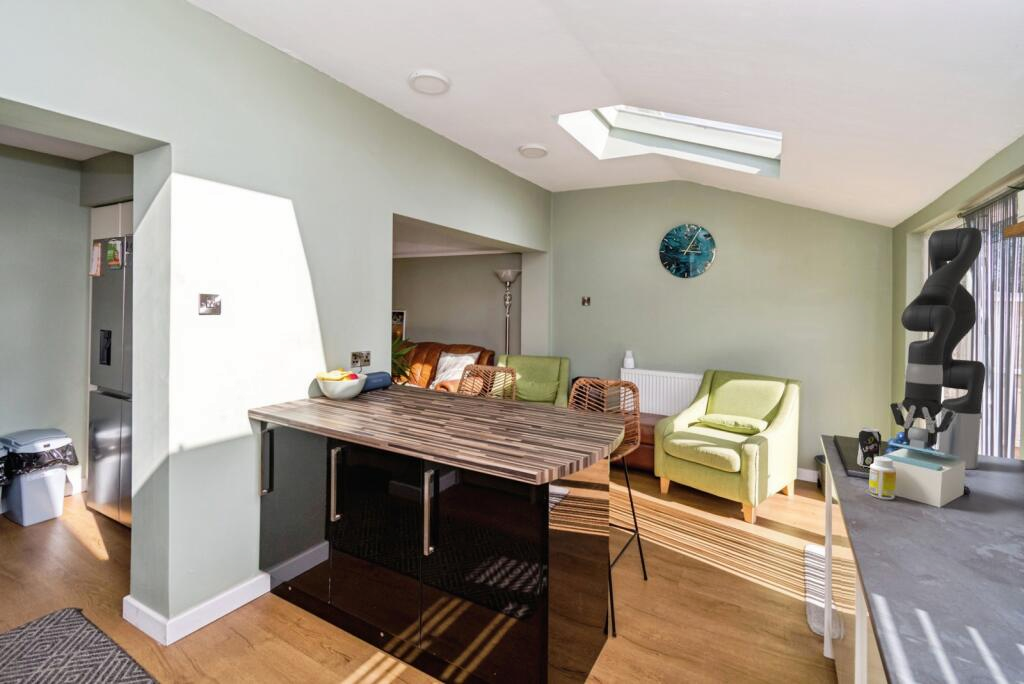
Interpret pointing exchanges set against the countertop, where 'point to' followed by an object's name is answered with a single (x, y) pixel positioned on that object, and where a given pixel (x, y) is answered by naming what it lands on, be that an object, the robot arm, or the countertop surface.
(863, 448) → the beverage can
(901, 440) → the grapes
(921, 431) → the flap
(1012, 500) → the countertop surface
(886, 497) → the supplement bottle
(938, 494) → the carton
